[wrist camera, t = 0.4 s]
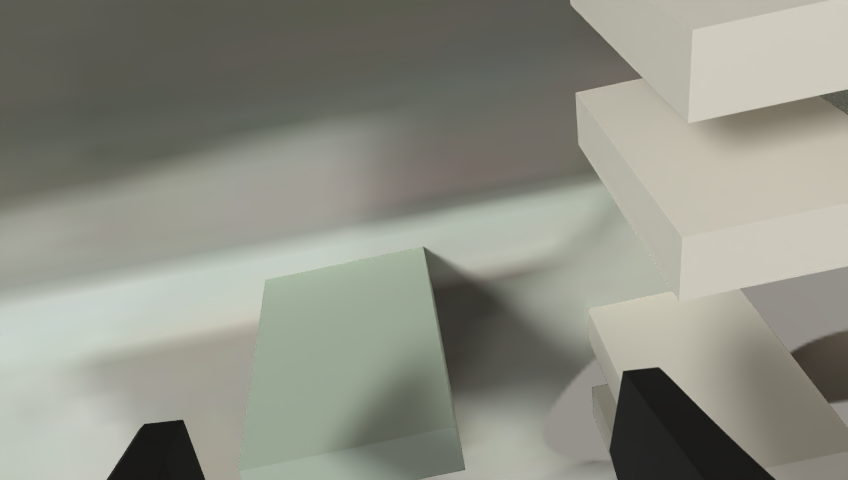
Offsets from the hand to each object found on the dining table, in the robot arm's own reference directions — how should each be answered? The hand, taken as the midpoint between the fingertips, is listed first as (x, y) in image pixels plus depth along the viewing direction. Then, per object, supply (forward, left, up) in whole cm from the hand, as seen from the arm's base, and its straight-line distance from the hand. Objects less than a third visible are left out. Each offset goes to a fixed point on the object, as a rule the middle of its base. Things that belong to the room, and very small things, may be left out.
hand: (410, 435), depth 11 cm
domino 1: (-4, 0, -10) cm, 10 cm away
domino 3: (+3, -7, -10) cm, 13 cm away
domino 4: (-4, -11, -10) cm, 15 cm away
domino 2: (+7, -6, -10) cm, 13 cm away
